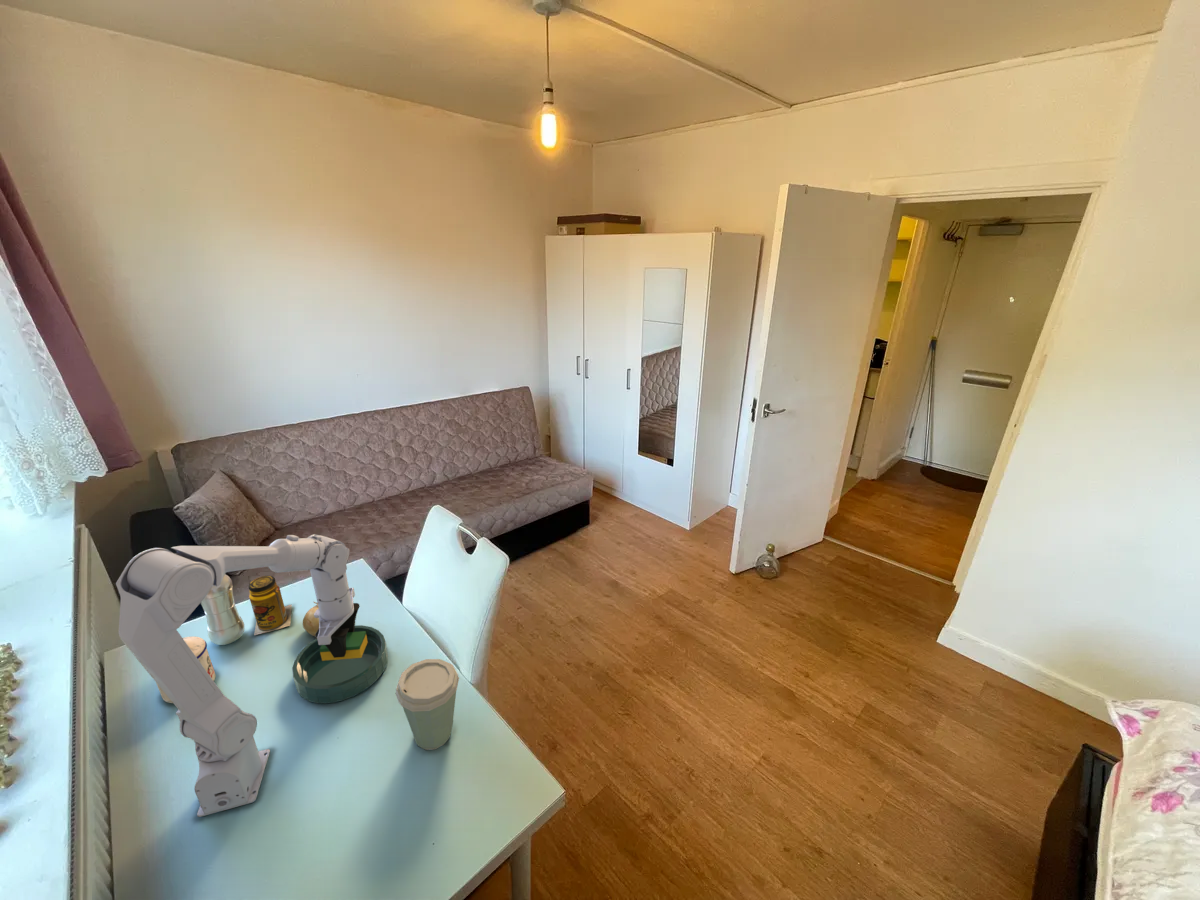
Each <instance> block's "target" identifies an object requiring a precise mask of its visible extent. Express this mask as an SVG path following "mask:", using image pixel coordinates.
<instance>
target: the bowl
mask: <svg viewBox="0 0 1200 900" xmlns="http://www.w3.org/2000/svg"><path fill="white" fill-rule="evenodd" d="M360 631H366V636H367V641H368V643H367V645H366V647H365V650H364V652H363V655H362V657H361V658H352V659H338V660H325V661H322V658H321V653H320V648H321V646H322V645H319V644H318V640H316V638H315V639H314V638H313V640H311V641H310V642H309V643H307V644H306V645H305V647H304V648H303V649H301V650H300V651H299V653H298V654H297V656H296V657H295V658H294V661H293V664H292V666H291V667H292V668H291V671H292V678H293V681H294V685H295V689H296V691H297V693H298V694H299V696H300V697H301V698H302V699H304V700H306V701H308V702H312V703H316V704H332V703H337V702H341V701H344V700H348V699H350V698H352V697H355V696H357V695H359V694H361V693H363V691H365V690H367V689H369V688H370V687H371V686H373V684H374V683H375V682H377V681H378V680H379V678H380V677H381V676H382V674H383V673H384V672H385V670H386V667H387V666H388V663H389V662H388V660H389V652H388V647H387V641H386V638H385V635H384V634H383V632H381V631H380V630H379V629H376V628H374V627H372V626H368V625H362V624H361V625H360V624H359V625H355V630H354V632H360Z"/></svg>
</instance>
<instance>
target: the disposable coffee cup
mask: <svg viewBox="0 0 1200 900" xmlns="http://www.w3.org/2000/svg"><path fill="white" fill-rule="evenodd" d="M459 680H460V676H459V674H458V672H457V670H456V668H455V666H454V664H452V663H450V662H448V661H446V660H443V659H441V658H427V659H426V658H425V659H422V660H419V661H417V662H415V663H412V664H411V665H409V666H408V667H407V668H406V669H404V671H403V672H401V674H400V676H399V679H398V682H397V685H396V687H395V696H396V699H397V702H398V703H399V705H400V706H401V707H402V709H403V712H404V714H405V717H406V719H407V722H408V725H409V728H410V730H411V733H412V735H413V738H414V741H415V744H416V745H417V746H418V747H419V748H421V749H423V750H425V751H431V750H432V751H433V750H437V749H438V748H440V747H443V746H444V745H445V744H446V742H447V741H448V740H449V739H450V736H451V735H452V730H453V725H454V716H455V707H456V706H455V705H456V696H457V691H458V686H459Z"/></svg>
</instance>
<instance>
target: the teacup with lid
mask: <svg viewBox="0 0 1200 900" xmlns="http://www.w3.org/2000/svg"><path fill="white" fill-rule="evenodd" d="M182 638H183V639H184V641H185V642H186V644H187V645H188V646H189V648H190V649H191V650H192V652H193V653H194V655H195V656H196V657H197V659H198V660H199V662H200V663H201V664H202V666H203V667H204V668H205V670H206V671H207V673H208V674H209V675H210V677H211V678H212V679H213V681H214V682H215V681H216V671H215V669H214V666H213V663H212V660H211V657H210V654H209V651H208V644H207V641H206V640H205V639H203V638H202V637H199V636H193V635H192V636H185V637H182ZM155 683H156V682H155ZM156 687H157V688H158V692H159V693H160V695H161V698H162V700H163V701H164V702H166V703H168V704H174V703H173V702H172V701H171V700H170V699H169V697H168V696H167V695H166V694H165V693H164V691H163V690H162V689H161V688H160V686H159V685H158V684H157V683H156Z"/></svg>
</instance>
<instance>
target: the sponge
mask: <svg viewBox="0 0 1200 900" xmlns="http://www.w3.org/2000/svg"><path fill="white" fill-rule="evenodd" d="M367 643H368V641H367V636H366V631H360V632H347V636H346V654H345V656H344V657H336V658H334V657H333V655H332V654H331V652H330V651H329V649H328V648H327V647H326V646H325V645H322V646H321V648H320V653H321V658H322V661H325V660H338V659H352V658H361V657H362V655H363V652H364V650H365V647H366V645H367Z"/></svg>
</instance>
